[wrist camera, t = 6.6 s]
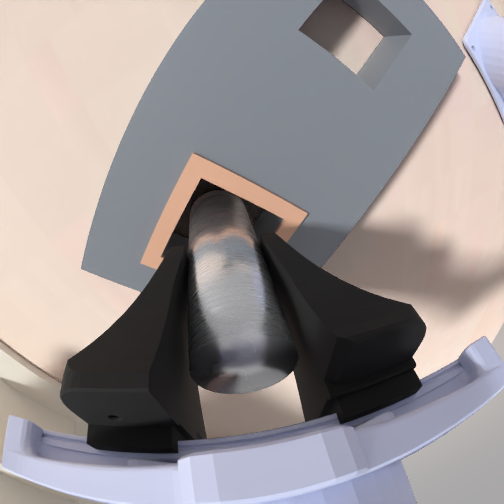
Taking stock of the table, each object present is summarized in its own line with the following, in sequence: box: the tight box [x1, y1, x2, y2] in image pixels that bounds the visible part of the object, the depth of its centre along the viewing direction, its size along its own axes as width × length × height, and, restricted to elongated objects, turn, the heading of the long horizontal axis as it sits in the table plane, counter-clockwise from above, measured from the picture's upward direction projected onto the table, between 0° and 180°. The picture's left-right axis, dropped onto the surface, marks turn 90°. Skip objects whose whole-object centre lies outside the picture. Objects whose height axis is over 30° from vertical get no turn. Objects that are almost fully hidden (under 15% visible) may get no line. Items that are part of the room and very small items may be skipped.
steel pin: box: [188, 190, 299, 394], centre depth 11 cm, size 3×3×9 cm
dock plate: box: [81, 0, 465, 292], centre depth 11 cm, size 12×22×3 cm, turn 148°
